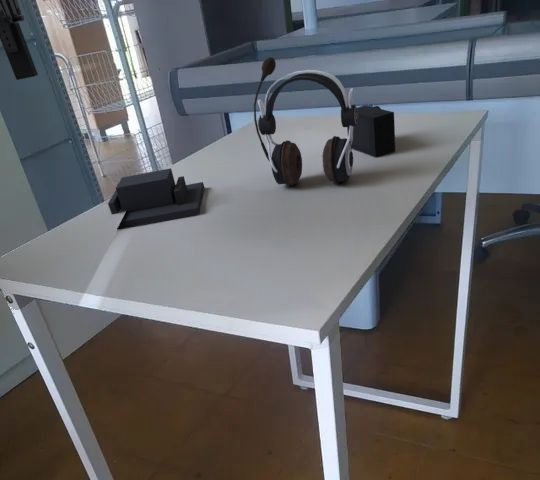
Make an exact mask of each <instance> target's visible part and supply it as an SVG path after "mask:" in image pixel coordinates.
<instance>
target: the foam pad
mask: <svg viewBox="0 0 540 480" xmlns="http://www.w3.org/2000/svg"><path fill="white" fill-rule="evenodd" d="M175 181H176V180H175V177H174V173H173V170H172V168H164V169H159V170H155V171H148V172H144V173H139V174H133V175H128V176H122V177H121V178H120V180H119V182H118V184H117V185H116V187H115V191H117V194H118V197H119V200H120V203H121V208H122V211H125V213H128V212H134V211H139V210H145V209H150V208H156V207H161V206H166V205H172V204H174V203H175V200H176V198H175V194H174V189H175V186H176V182H175ZM125 213H124V214H125Z"/></svg>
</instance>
